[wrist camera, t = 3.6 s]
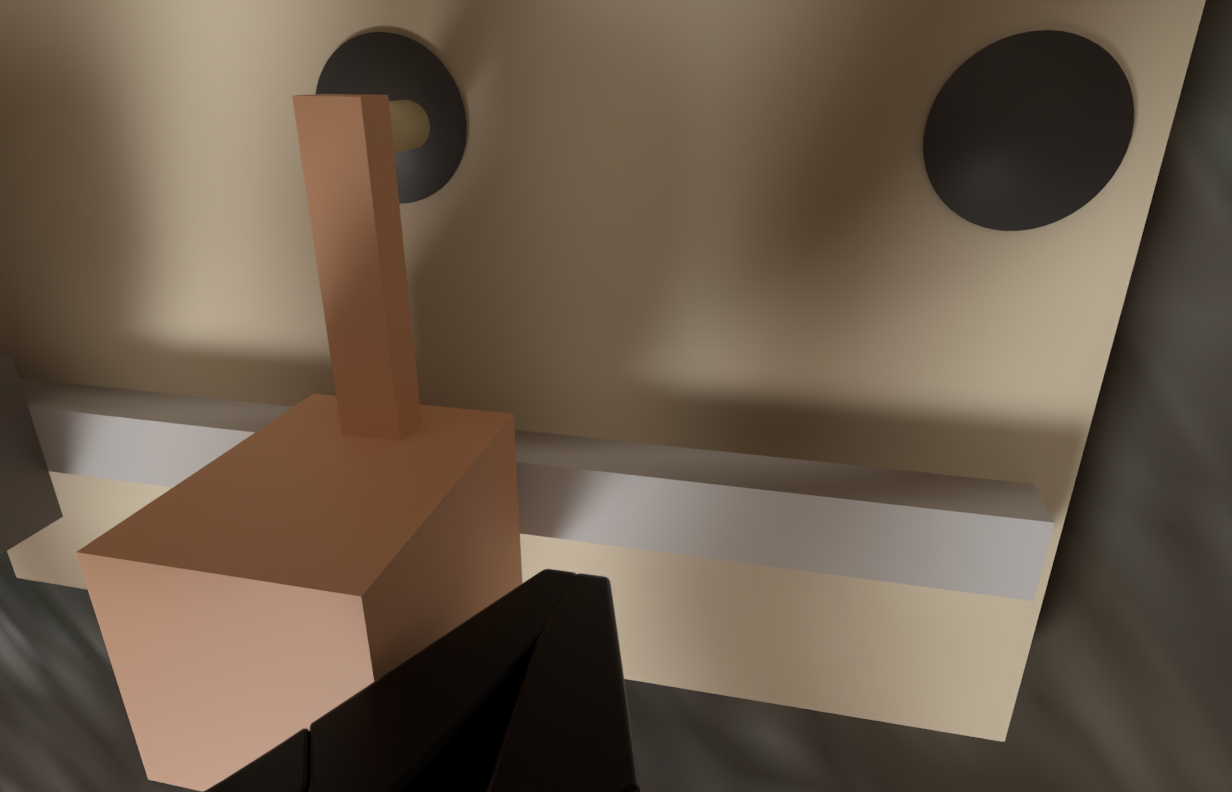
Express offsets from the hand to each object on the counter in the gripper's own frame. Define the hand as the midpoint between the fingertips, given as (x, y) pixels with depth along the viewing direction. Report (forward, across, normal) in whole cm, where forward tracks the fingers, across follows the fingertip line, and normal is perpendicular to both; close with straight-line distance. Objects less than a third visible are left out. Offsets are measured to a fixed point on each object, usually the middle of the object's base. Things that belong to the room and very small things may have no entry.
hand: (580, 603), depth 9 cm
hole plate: (+5, +3, -2) cm, 6 cm away
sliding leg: (+2, +3, -2) cm, 4 cm away
